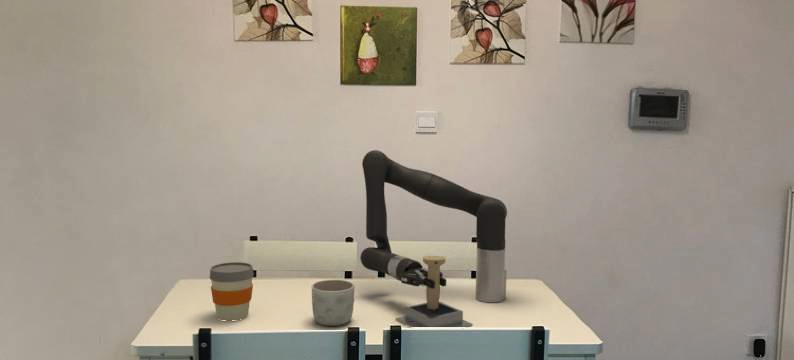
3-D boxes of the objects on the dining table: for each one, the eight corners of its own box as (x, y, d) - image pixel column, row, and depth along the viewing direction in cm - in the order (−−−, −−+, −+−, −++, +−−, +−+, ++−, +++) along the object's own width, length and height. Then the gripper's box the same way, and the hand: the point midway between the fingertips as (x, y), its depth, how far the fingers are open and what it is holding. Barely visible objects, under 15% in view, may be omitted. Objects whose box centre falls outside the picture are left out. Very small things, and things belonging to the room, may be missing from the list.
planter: (318, 331, 164) (318, 293, 162) (306, 317, 175) (306, 281, 174) (360, 325, 169) (360, 288, 167) (346, 312, 180) (346, 277, 179)
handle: (445, 310, 169) (447, 259, 167) (423, 311, 168) (424, 260, 167) (441, 305, 174) (443, 255, 172) (420, 305, 173) (421, 255, 171)
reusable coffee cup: (231, 326, 166) (230, 275, 165) (201, 318, 173) (200, 268, 171) (263, 314, 177) (262, 265, 175) (234, 306, 184) (233, 260, 182)
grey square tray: (437, 310, 183) (438, 297, 182) (472, 325, 170) (472, 312, 169) (395, 320, 174) (395, 306, 173) (428, 337, 160) (428, 322, 160)
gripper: (386, 260, 177) (420, 274, 163) (423, 255, 186) (459, 268, 171) (385, 284, 178) (419, 300, 164) (422, 278, 186) (458, 292, 172)
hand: (439, 283), depth 168 cm, fingers closed on handle, 3 cm apart
